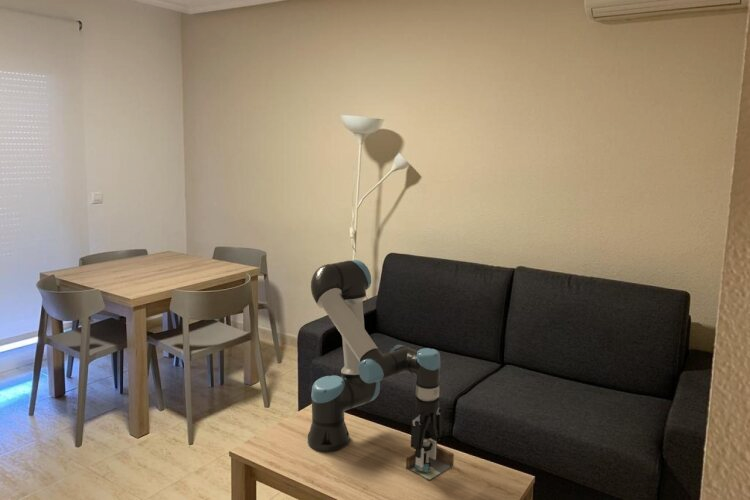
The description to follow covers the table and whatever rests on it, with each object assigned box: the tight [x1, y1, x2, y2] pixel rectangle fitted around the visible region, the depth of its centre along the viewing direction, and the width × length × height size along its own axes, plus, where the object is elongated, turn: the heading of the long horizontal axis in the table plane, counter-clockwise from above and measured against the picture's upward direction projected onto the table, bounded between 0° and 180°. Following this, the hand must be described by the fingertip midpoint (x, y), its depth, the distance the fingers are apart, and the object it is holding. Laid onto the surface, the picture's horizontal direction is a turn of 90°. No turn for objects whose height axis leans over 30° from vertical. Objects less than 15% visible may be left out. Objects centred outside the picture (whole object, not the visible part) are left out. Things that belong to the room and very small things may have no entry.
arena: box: [405, 445, 455, 482], centre depth 201 cm, size 10×13×4 cm
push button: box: [415, 438, 434, 472], centre depth 197 cm, size 7×5×10 cm
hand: (425, 461), depth 197 cm, fingers open, 6 cm apart
